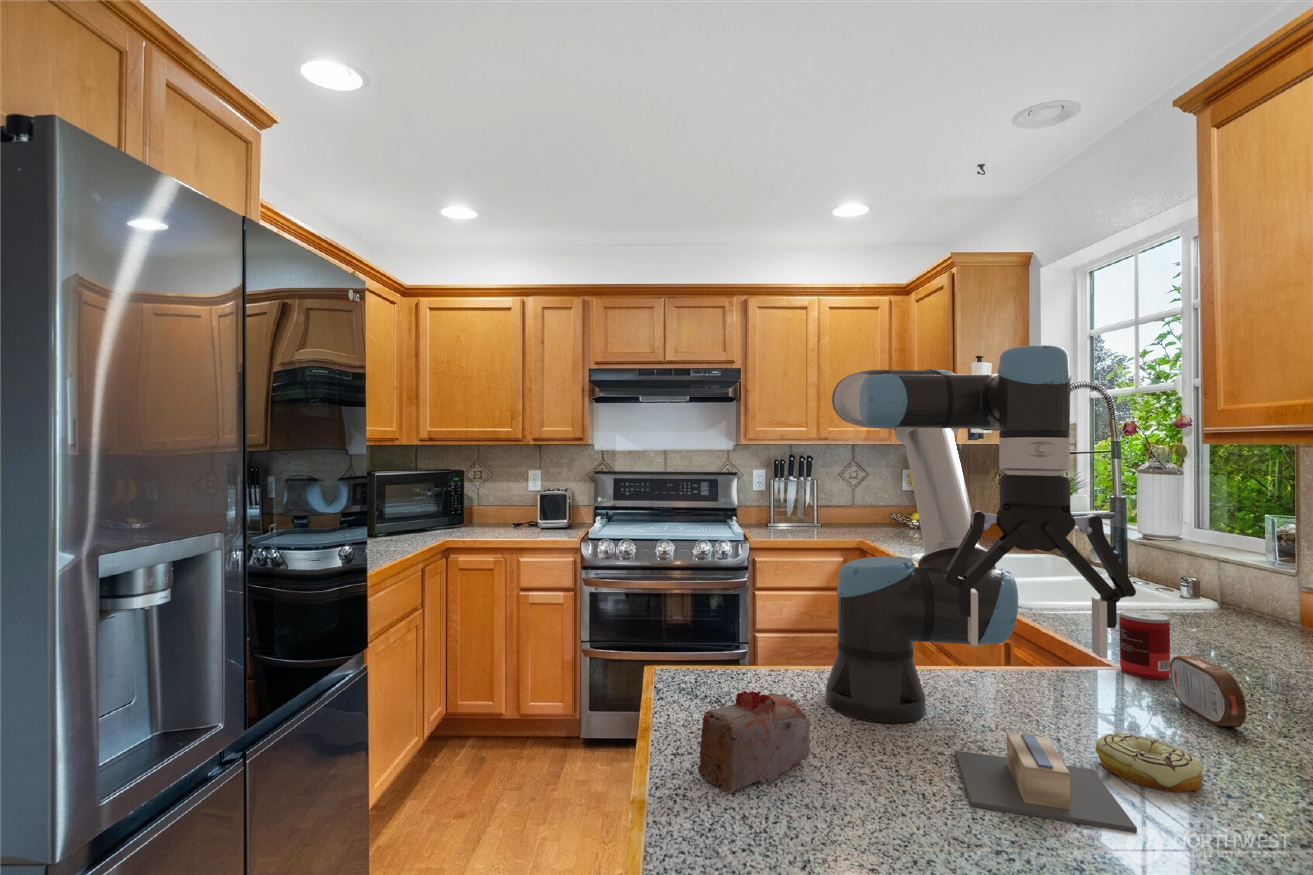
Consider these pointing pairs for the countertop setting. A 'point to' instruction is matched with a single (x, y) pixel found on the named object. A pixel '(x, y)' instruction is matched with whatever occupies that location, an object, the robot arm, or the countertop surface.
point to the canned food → (1145, 644)
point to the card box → (1038, 771)
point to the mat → (999, 792)
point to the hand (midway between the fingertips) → (1034, 649)
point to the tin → (1208, 691)
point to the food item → (752, 740)
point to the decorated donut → (1149, 762)
